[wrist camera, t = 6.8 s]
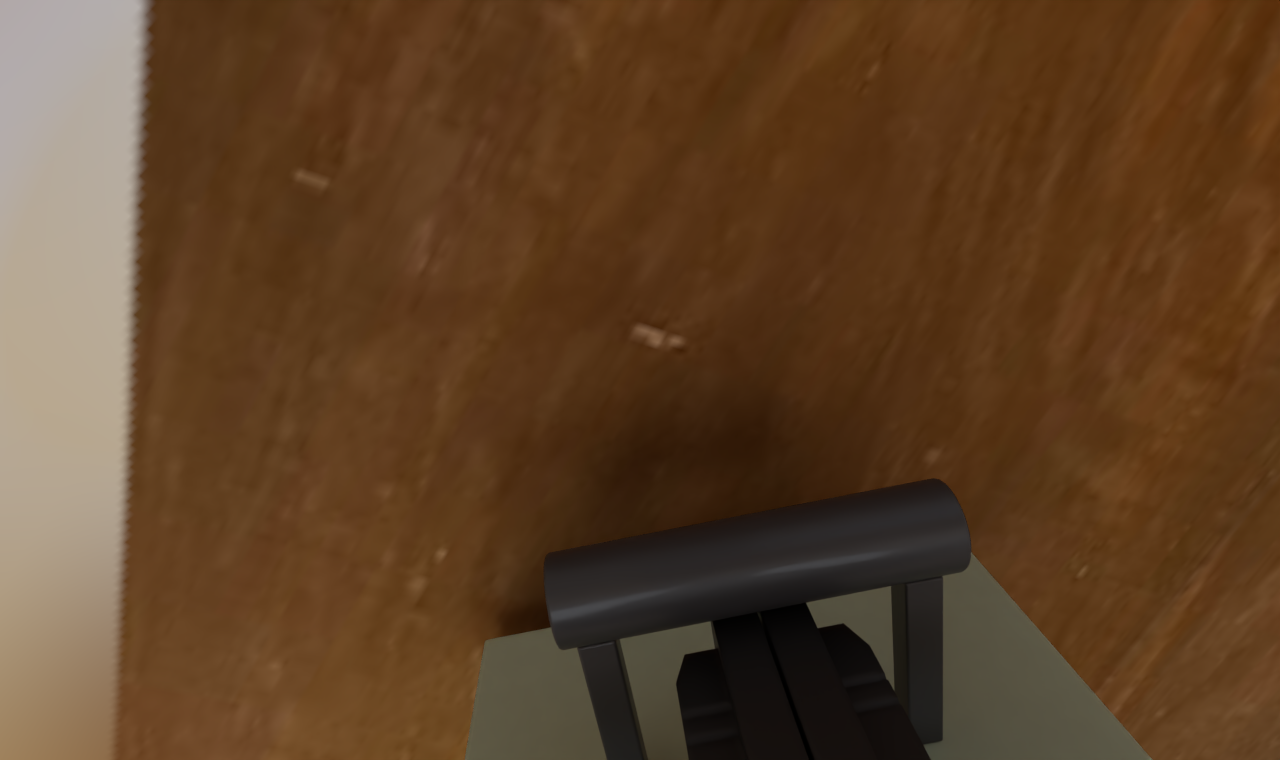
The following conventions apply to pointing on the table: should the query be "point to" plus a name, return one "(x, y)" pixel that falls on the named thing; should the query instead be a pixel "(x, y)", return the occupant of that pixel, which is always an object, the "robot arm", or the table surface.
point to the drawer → (774, 578)
